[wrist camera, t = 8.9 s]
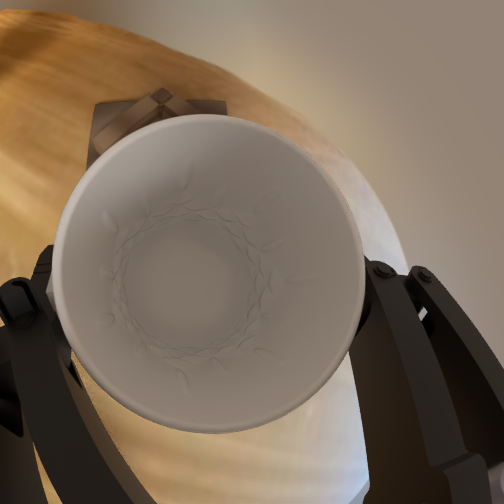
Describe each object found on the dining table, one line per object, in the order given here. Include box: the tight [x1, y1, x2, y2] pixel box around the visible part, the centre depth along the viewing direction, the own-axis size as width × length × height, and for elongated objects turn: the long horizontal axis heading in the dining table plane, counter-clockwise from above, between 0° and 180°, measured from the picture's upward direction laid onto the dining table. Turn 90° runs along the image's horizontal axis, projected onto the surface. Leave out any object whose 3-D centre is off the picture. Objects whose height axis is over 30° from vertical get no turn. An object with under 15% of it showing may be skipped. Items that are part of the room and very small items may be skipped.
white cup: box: [52, 114, 365, 434], centre depth 11 cm, size 8×8×10 cm
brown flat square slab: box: [86, 88, 227, 171], centre depth 26 cm, size 16×16×3 cm
